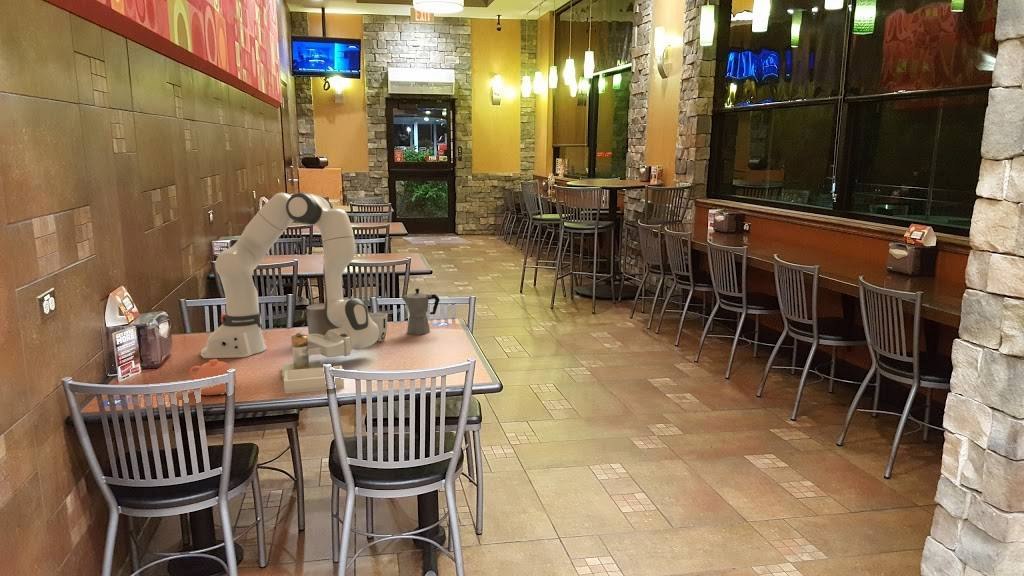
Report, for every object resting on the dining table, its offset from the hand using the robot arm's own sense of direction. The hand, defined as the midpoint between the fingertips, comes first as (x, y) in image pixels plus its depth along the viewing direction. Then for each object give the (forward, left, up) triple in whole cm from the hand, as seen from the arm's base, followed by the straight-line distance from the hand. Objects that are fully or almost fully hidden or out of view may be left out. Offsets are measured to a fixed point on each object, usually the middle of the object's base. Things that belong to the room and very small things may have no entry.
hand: (299, 349), depth 230 cm
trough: (+4, -14, -8) cm, 17 cm away
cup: (+28, +33, -8) cm, 44 cm away
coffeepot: (+46, +40, -8) cm, 62 cm away
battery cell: (0, 0, -7) cm, 7 cm away
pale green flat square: (0, 0, -8) cm, 8 cm away
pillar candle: (+7, +39, -8) cm, 41 cm away
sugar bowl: (-26, -11, -8) cm, 29 cm away
